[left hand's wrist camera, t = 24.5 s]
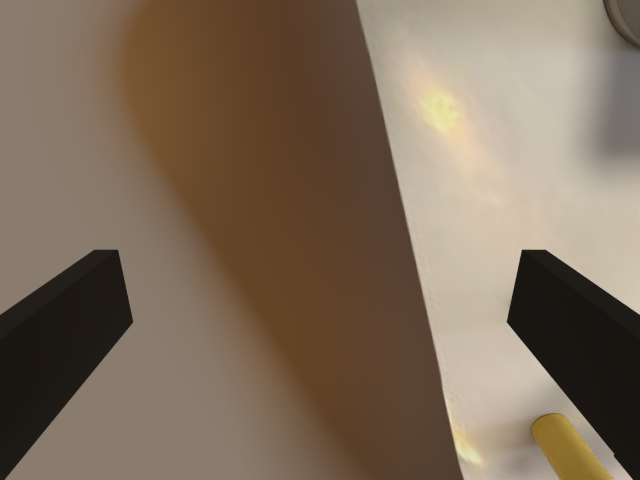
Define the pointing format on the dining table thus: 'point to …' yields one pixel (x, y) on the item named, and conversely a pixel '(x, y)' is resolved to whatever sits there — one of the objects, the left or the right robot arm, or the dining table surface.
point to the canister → (567, 450)
